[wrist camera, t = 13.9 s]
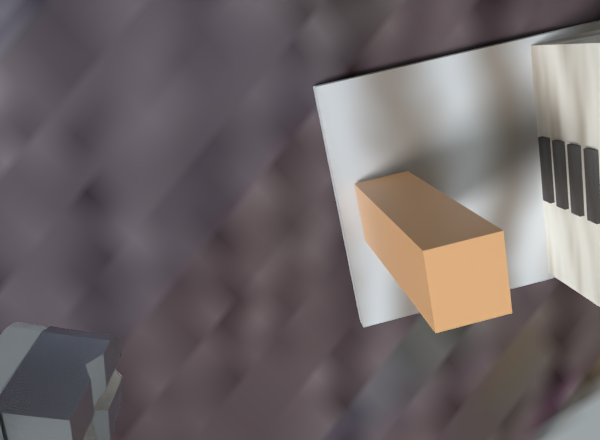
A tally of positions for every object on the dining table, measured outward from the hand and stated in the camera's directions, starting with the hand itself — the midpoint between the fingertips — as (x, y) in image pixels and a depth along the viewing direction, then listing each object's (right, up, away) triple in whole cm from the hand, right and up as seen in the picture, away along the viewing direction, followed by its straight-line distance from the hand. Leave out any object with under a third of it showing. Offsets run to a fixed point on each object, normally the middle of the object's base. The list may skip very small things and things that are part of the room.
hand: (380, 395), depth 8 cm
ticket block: (+12, +6, +30) cm, 33 cm away
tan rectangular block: (+4, +4, +28) cm, 28 cm away
